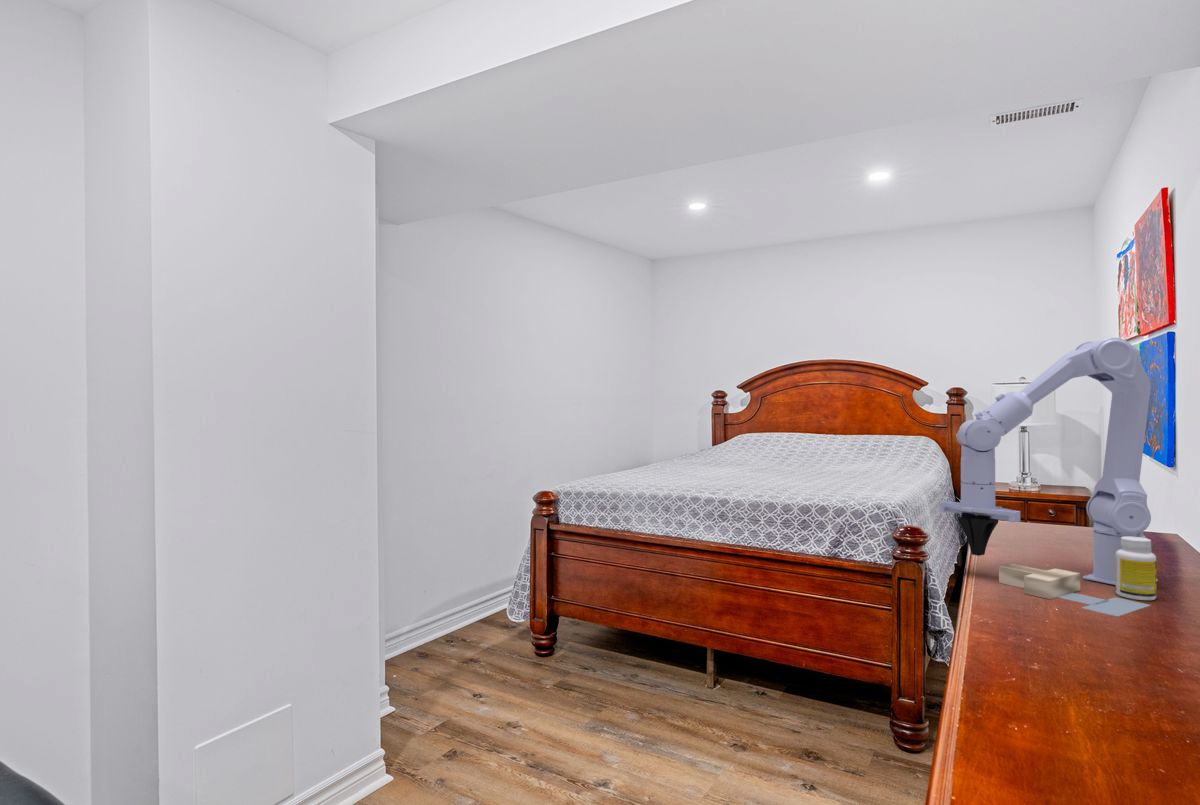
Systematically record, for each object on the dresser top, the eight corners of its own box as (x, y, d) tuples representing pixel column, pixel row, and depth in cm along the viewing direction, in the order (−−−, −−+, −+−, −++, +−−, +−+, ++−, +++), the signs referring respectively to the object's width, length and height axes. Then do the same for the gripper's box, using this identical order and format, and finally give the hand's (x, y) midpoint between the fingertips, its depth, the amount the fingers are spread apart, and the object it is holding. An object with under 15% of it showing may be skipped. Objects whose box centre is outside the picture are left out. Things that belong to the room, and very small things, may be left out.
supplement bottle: (1164, 602, 109) (1164, 542, 109) (1126, 600, 111) (1126, 541, 111) (1144, 592, 115) (1144, 535, 115) (1108, 591, 116) (1108, 534, 116)
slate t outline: (1075, 590, 118) (1075, 588, 118) (1151, 606, 108) (1151, 605, 108) (1041, 600, 112) (1041, 598, 112) (1117, 618, 103) (1117, 616, 103)
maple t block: (1020, 577, 125) (1020, 561, 125) (1080, 590, 116) (1080, 573, 116) (989, 585, 120) (989, 568, 120) (1049, 599, 112) (1048, 581, 112)
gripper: (929, 480, 131) (929, 549, 131) (1004, 488, 119) (1004, 565, 119) (951, 478, 135) (951, 545, 135) (1026, 486, 122) (1026, 560, 122)
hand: (978, 554), depth 127 cm, fingers closed
